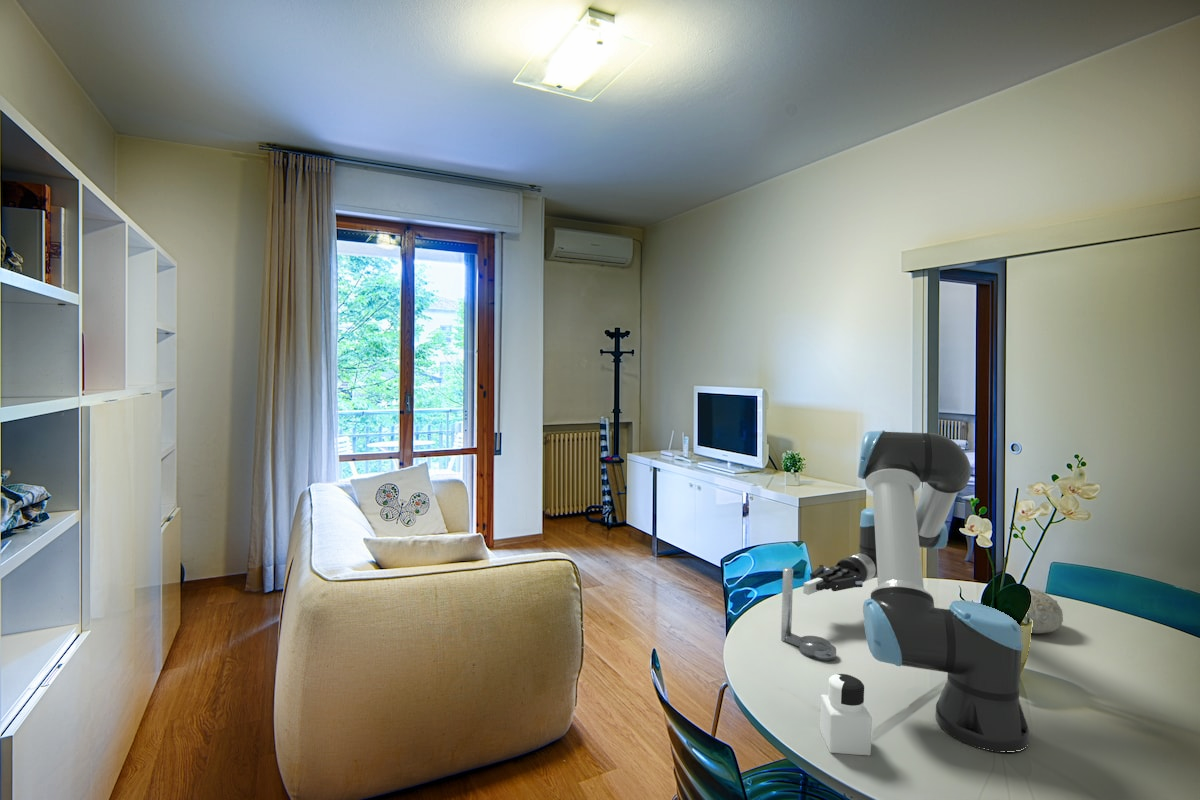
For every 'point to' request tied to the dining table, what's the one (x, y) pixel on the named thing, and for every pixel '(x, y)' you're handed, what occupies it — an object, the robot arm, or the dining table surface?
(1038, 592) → the grey rock
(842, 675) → the medicine bottle
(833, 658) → the crank handle
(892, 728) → the dining table surface
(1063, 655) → the dining table surface
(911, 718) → the dining table surface
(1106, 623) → the dining table surface
